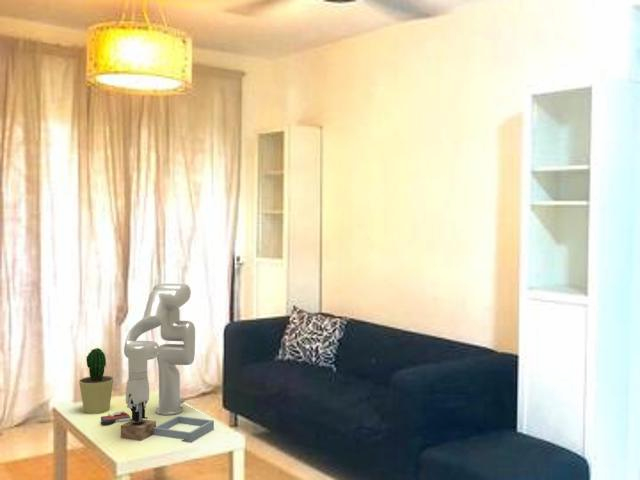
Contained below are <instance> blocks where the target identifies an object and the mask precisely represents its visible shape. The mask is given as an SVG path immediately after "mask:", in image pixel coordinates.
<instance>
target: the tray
mask: <svg viewBox="0 0 640 480" xmlns="http://www.w3.org/2000/svg"><path fill="white" fill-rule="evenodd" d="M179 424H181V425H189V426H198V427H197V428H194V429H193V430H191V431H185V430H178V429H177V430H176V429H170V428H173V427H174V426H176V425H179ZM214 429H215V420H213V419H205V418H197V417H189V416H182V415H178V416H175V417H173V418H171V419H169V420H167V421H165V422H163V423H160V424H159V425H156V427H154V428H153V435H152V436H160V437H166V438H172V439H173V438H175V439H180V440H181V442H183V443H184V442H185V443H193V442H194V441H196V440H197V439H199V438H201V437H202V436H204V435H207V434H208V433H210V432H212V431H214Z"/></svg>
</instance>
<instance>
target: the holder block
mask: <svg viewBox="0 0 640 480" xmlns="http://www.w3.org/2000/svg"><path fill="white" fill-rule="evenodd" d="M156 426H157V421H156V420H148V419H142V425H140V426H139V425H135V421H127V422H126V423H125V422H124V423H123V424H121V425H120V439H125V440H132V441H138V442H141V441H144V440H146V439H148V438H149V437H152V436H154V435H153V428H154V427H156Z"/></svg>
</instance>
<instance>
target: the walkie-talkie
mask: <svg viewBox="0 0 640 480" xmlns="http://www.w3.org/2000/svg"><path fill="white" fill-rule="evenodd" d="M143 420H148V416H145V418H144V419H143ZM130 421H132V418H131V415H130V414H129V413H128V412H125V411H124V410H123V411H116V412H114V413H113V414H111V413H108V414H107V415H104V416H100V425H101V426H111V425H114V424H117V423H125V422H126V423H127V422H130Z"/></svg>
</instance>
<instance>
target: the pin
mask: <svg viewBox="0 0 640 480" xmlns="http://www.w3.org/2000/svg"><path fill="white" fill-rule="evenodd" d="M142 402H144V399H143V400H141V403H139V404H138V411H139V421H135V425H139V426H140V425H142ZM134 406H135V405H134ZM135 407H136V406H135Z"/></svg>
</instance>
